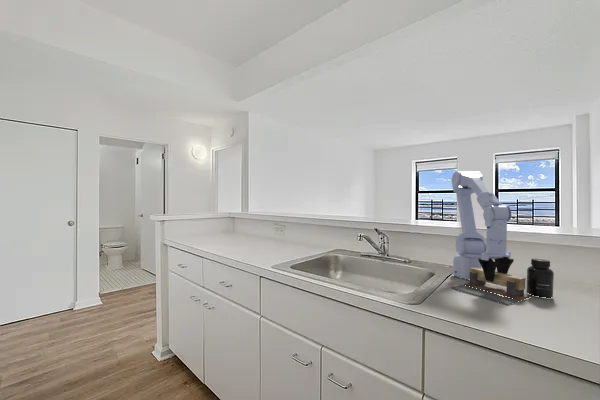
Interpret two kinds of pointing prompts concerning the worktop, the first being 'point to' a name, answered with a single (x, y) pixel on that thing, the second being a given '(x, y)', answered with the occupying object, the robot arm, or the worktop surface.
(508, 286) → the stand
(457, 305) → the worktop surface
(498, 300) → the mat
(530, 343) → the worktop surface
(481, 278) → the rail
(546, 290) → the supplement bottle
